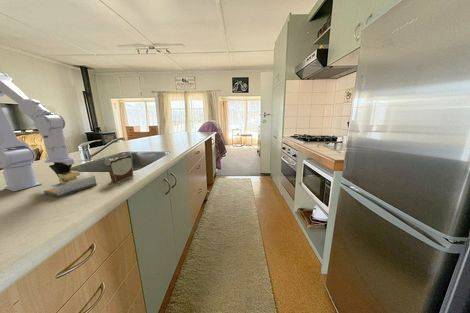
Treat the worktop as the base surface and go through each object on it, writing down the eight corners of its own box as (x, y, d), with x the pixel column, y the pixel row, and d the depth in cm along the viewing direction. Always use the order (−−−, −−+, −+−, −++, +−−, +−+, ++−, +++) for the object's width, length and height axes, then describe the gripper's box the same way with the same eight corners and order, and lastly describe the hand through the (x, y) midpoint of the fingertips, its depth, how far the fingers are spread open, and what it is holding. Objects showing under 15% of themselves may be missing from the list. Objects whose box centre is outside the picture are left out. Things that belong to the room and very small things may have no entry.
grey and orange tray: (44, 193, 66) (41, 183, 65) (81, 182, 77) (79, 173, 76) (59, 197, 62) (56, 186, 61) (96, 184, 73) (94, 175, 72)
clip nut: (60, 186, 69) (57, 173, 68) (74, 182, 73) (71, 170, 72) (68, 187, 68) (65, 175, 66) (82, 183, 72) (79, 171, 70)
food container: (124, 174, 86) (120, 153, 83) (135, 174, 84) (132, 153, 82) (100, 183, 74) (95, 160, 72) (113, 184, 73) (108, 160, 70)
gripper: (32, 148, 68) (42, 182, 71) (53, 149, 62) (62, 186, 65) (56, 145, 74) (64, 176, 77) (76, 146, 69) (84, 180, 72)
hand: (65, 181), depth 72 cm, fingers closed
